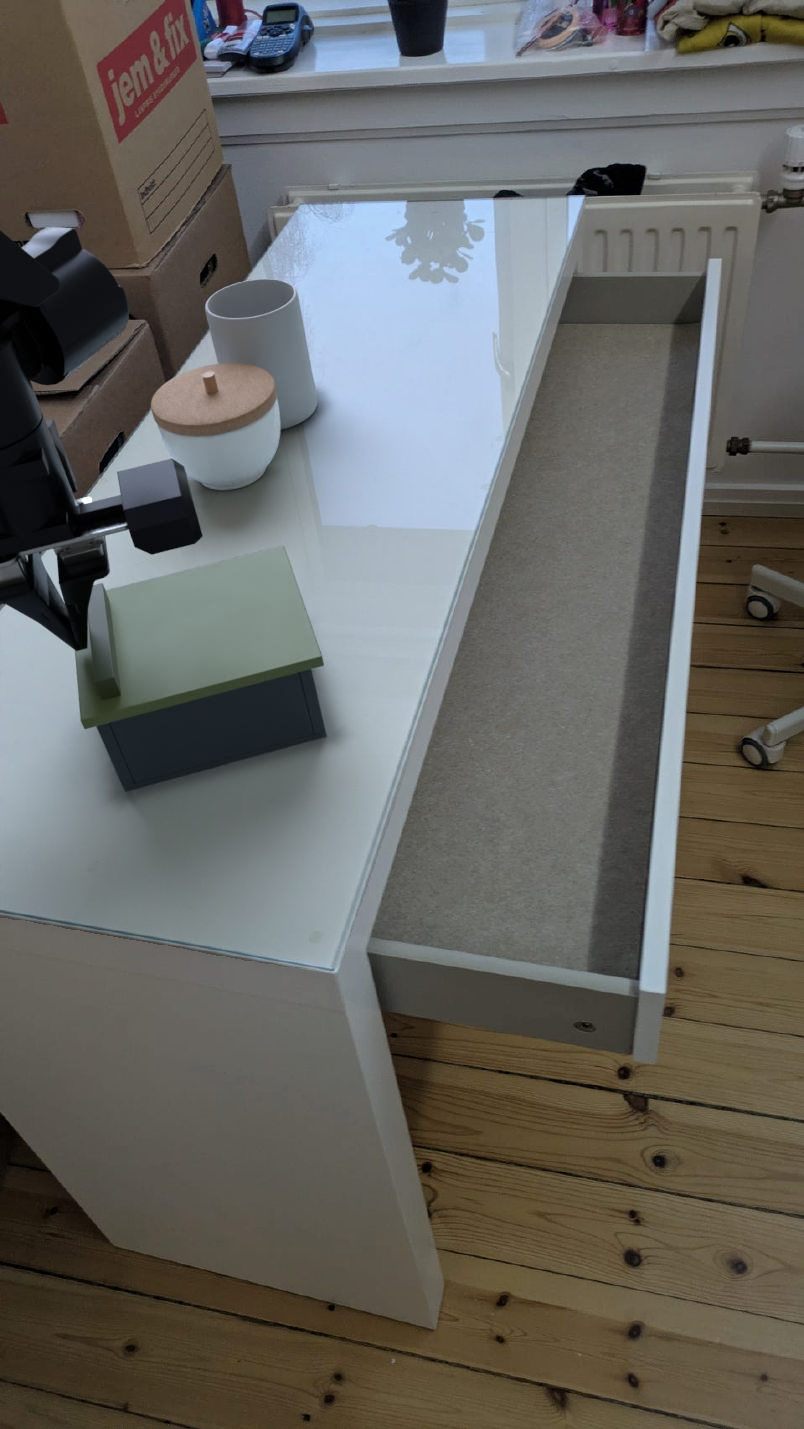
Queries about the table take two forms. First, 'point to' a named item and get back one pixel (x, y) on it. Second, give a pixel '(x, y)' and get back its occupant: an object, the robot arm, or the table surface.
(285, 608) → the bin lid
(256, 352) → the mug
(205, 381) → the trinket box
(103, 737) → the bin
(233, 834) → the table surface
